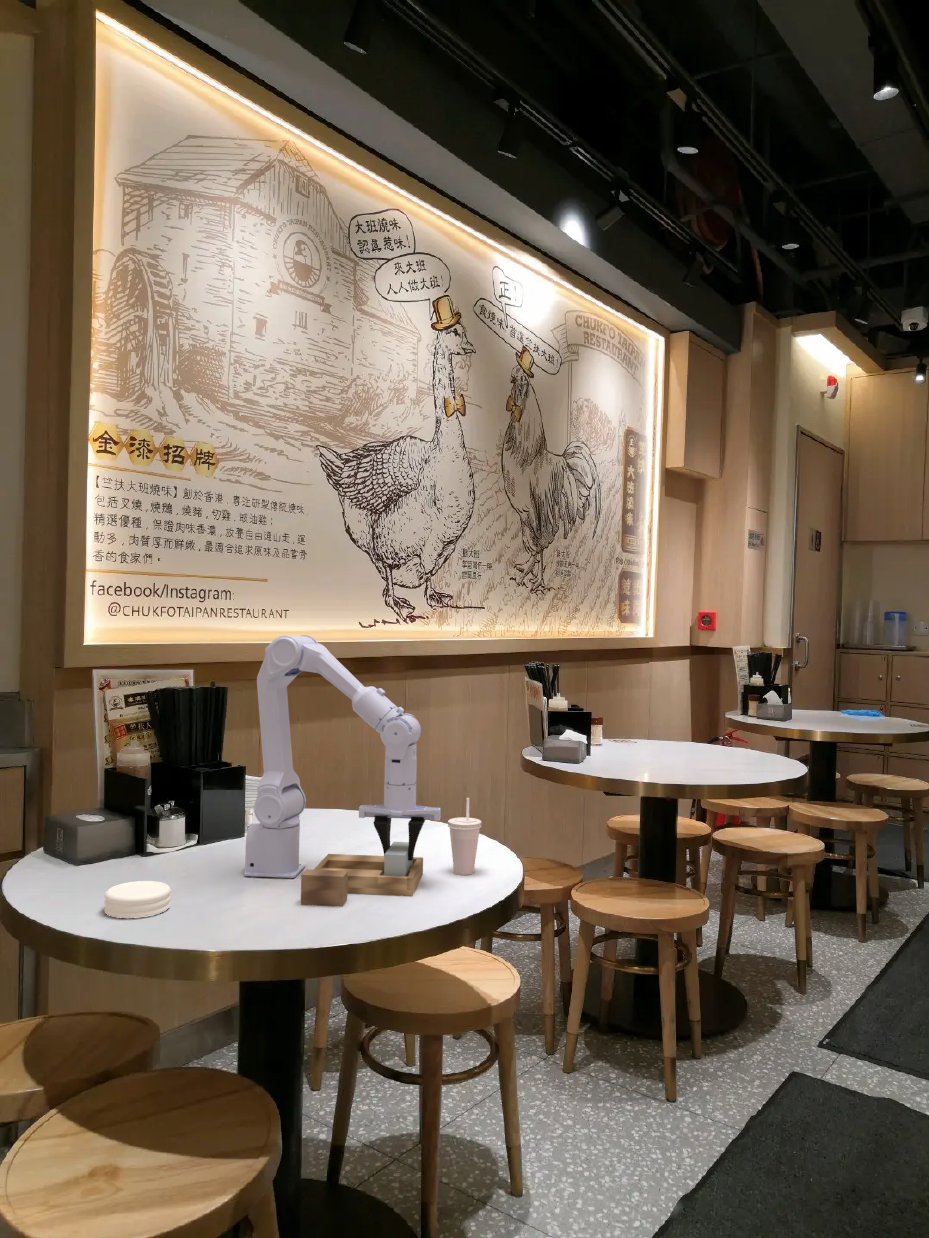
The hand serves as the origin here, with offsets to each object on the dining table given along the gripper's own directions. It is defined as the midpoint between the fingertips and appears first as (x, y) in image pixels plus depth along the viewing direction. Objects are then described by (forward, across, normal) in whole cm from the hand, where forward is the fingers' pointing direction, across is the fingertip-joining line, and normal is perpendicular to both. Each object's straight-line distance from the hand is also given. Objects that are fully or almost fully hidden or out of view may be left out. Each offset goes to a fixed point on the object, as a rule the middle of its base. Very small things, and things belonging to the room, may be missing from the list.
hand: (398, 858), depth 158 cm
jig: (+4, -6, 0) cm, 7 cm away
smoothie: (+5, +11, +9) cm, 15 cm away
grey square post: (+2, 0, 0) cm, 2 cm away
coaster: (+5, -39, -20) cm, 44 cm away
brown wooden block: (+4, -10, -12) cm, 17 cm away
